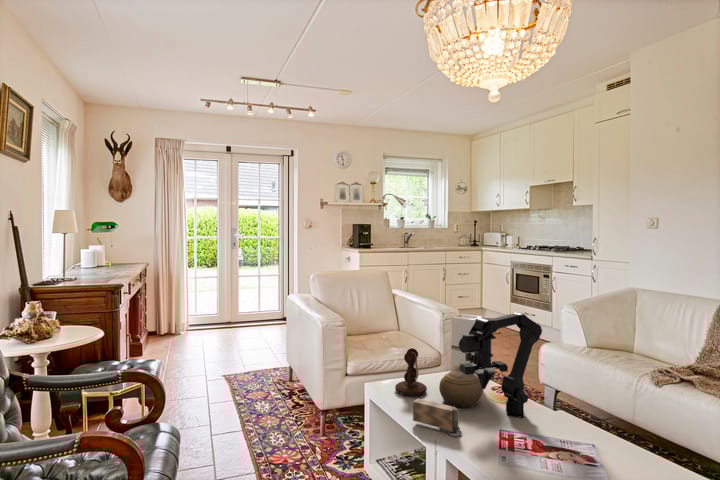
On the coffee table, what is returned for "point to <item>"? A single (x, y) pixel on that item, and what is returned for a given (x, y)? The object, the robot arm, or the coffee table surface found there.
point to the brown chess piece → (411, 376)
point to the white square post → (457, 330)
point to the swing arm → (435, 414)
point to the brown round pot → (460, 388)
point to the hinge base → (455, 433)
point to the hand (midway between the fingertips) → (483, 388)
